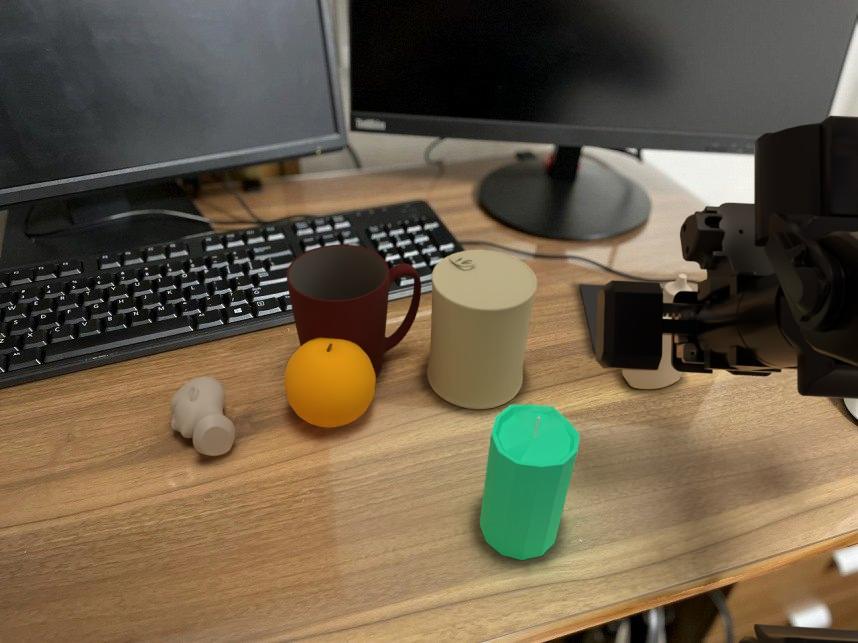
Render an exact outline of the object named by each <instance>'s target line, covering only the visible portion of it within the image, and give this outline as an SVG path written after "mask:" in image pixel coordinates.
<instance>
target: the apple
mask: <svg viewBox="0 0 858 643" xmlns="http://www.w3.org/2000/svg"><path fill="white" fill-rule="evenodd" d="M283 378H284V379H283V380H284V381H283V384H284V390H285V394H286V398H287V402H288V404H289V406H290V407H291V408H292V410H293V411H294V412H295V414H296V415H297V416H298V417H299V418H301V419H302V420H304V421H305V422H306V423H309V424H310V425H314V426H316V427H320V428H337V427H341V426H346V425H348V424H350V423H352V422H355V421H356V420H357V419H359V418H360V417H361V416H362V415H363V414H364V413H365V412H366V411H367V410H368V408H369V406H370V405H371V403H372V401H373V399H374V397H375V393H376V381H377V378H376V376H375V372H374V369H373V366H372V363H371V361H370V359H369V357H368V355H367V354H366V353H365V352H364V351H363V350H362V349H361V348H360V347H359V346H358V345H357V344H355V343H353V342H351V341H347V340H343V339H332V338H316V339H313V340H310V341H308V342H307V343H305V344H304V345H302V346H301V347H300V346H299V347H298V348H297V349H296V351H294V353H293V354H292V356H291V357H290V358H289V360H288V362H287V364H286V369H285V374H284V377H283Z"/></svg>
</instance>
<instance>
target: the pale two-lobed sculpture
mask: <svg viewBox="0 0 858 643" xmlns="http://www.w3.org/2000/svg"><path fill="white" fill-rule="evenodd" d="M225 402H226V390H225V388H224V386H223V384H222V383H221V382H220V381H219V380H217V379H216V378H214V377H210V376H199V377H195V378H192V379H190V380H189V381H187V382H185V383H184V384H183V385H182V386H181V387H180V388H178V390H177V391H176V392H175V394H174V395H173V396H172V398H171V400H170V406H169V410H170V413H171V422H170V428H171V430H173V431H175V432H178V433H180V434H181V436H182V437H183V438H185V439H192V445H193V447H194V450H196V451H197V452H198V453H199V454H202V455H206V456H210V457H211V456H212V457H215V456H221V455H224V454H226V453H228V452H229V451H230V450H231V448H232V447H233V445H234V442H235V439H236V428H235V425H234V422H232V420H231V419H229V418H228V417H227V416H225V414H224V412H223V410H224V407H225Z"/></svg>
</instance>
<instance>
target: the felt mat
mask: <svg viewBox="0 0 858 643" xmlns="http://www.w3.org/2000/svg"><path fill="white" fill-rule="evenodd" d="M605 285H606V284H604V285H603V284H587V283H586V284H584V283H580V284H579V290H580V295H581V299H582V300H581V301H582V304H583V309H584V313H585V318H586V322H587V327H588V331H589V336H590V340H591V345H592V350H593V353H594V355H596V336H597V300H598V291H599V290H600V289H601V288H602V287H603V286H605ZM661 289H662V291H663V290H664V287H663V288H662V287H661Z"/></svg>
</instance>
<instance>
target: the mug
mask: <svg viewBox="0 0 858 643" xmlns="http://www.w3.org/2000/svg"><path fill="white" fill-rule="evenodd" d="M405 276H406V277H411V278H413V289H412V296H411V301H410V305H409V308H408V310H407V312H406V315H405V317H404V319H403V320H402V322H401V324H400V325H399V327H398V328H397V329H396V330H395V331H394V332H393V333H392V334H391V335H390V336H386V330H387V319H388V308H389V295H390V289H391V286H392V284H393V283H394V282H395V281H396V280H397V279H399V278H401V277H405ZM286 282H287V290H288V294H289V301H290V305H291V310H292V315H293V319H294V324H295V329H296V333H297V338H298V342H299V348H300V347H301V346H302V345H304V344H305V343H307V342H308V341H310V340H313V339H316V338H332V339H343V340H347V341H351V342H353V343H355V344H357V345H358V346H359V347H360V348H361V349H362V350H363V351H364V352H365V353H366V354H367V355H368V357H369V359H370V361H371V363H372V366H373V369H374V372H375V376H376V379H377V378H378V376H379V375H380V374H381V372H382V368H383V364H384V362H383V361H384V355H385V354H387V352H389V351H391V350H392V349H394V348H395V347H397V346H398V345H399V344H400V343H401V342H402V341H403V340H404V338H405V337H406V336H407V334H408V333H409V332H410V330H411V328H412V326H413V324H414V322H415V320H416V317H417V314H418V311H419V307H420V304H421V303H420V302H421V296H422V281H421V277H420V275H419V273H418V271H417V269H416V268H415V267H414V266H413V265H411V264H409V263H399V264H396V265H393V266H392V267H391V268H389V265H388V262H386V260H385V259H384V257H382V256H381V255H380V254H379V253H377V252H375V251H374V250H371V249H369V248H366V247H363V246H358V245H353V244H329V245H323V246H319V247H315V248H312V249H310V250H307V251H305V252H303V253H302V254H300V255H298V256H297V257H295V258H294V259H293V260H292V261H291V262H290V264H289V265H288V267H287V270H286Z"/></svg>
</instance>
